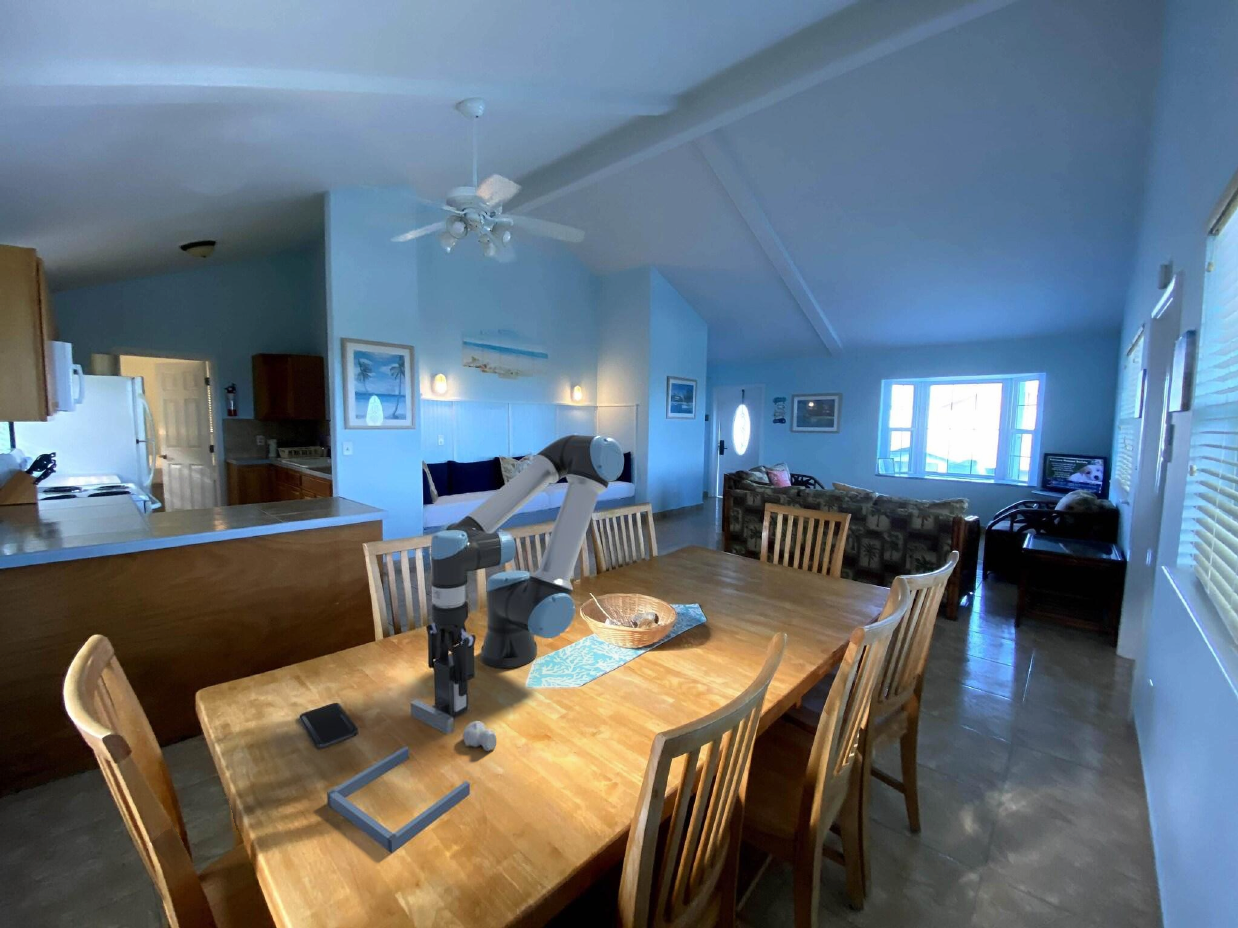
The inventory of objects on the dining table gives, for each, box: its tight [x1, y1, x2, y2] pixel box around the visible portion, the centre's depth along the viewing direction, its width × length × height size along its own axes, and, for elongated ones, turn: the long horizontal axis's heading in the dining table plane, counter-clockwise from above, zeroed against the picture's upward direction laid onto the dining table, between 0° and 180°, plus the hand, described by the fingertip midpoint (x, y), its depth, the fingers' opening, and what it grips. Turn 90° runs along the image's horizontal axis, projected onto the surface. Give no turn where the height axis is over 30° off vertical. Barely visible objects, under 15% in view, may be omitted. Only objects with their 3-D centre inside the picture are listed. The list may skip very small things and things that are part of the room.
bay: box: [326, 746, 471, 854], centre depth 90 cm, size 15×18×2 cm
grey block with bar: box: [410, 652, 469, 735], centre depth 114 cm, size 8×12×12 cm
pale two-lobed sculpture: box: [462, 720, 497, 752], centre depth 105 cm, size 4×8×5 cm
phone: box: [299, 702, 359, 750], centre depth 110 cm, size 8×1×15 cm
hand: (451, 703), depth 116 cm, fingers closed on grey block with bar, 5 cm apart
